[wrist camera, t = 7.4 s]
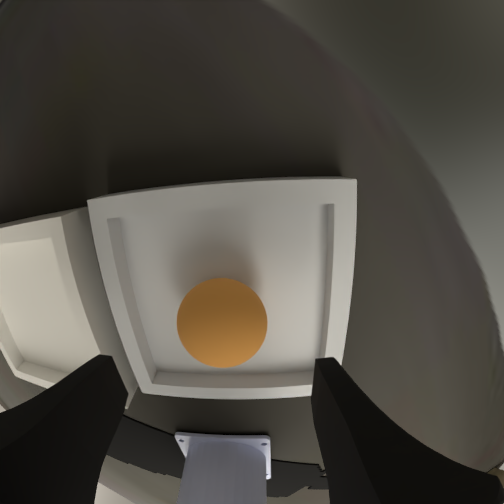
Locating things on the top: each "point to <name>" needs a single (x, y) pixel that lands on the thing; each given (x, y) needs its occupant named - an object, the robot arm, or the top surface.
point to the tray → (230, 276)
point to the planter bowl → (498, 474)
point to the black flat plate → (173, 460)
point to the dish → (55, 300)
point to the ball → (222, 322)
